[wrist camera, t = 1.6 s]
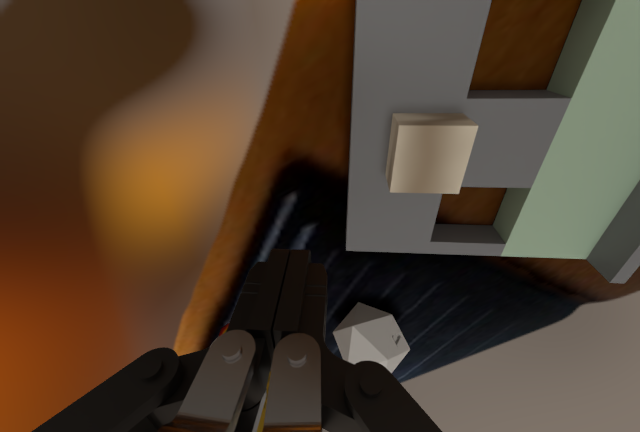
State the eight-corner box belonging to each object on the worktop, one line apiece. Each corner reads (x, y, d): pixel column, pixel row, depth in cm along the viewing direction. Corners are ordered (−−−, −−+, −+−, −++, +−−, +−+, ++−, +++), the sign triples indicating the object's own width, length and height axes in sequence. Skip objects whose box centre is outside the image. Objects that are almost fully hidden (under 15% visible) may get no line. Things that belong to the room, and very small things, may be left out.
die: (393, 332, 42) (434, 367, 33) (344, 366, 40) (372, 413, 31) (369, 285, 41) (403, 307, 32) (317, 318, 39) (337, 351, 30)
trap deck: (756, -45, 17) (920, -71, 12) (578, 239, 30) (624, 283, 25) (356, -31, 19) (360, -49, 14) (345, 232, 31) (345, 272, 26)
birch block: (462, 113, 21) (478, 125, 18) (446, 175, 24) (458, 193, 21) (392, 113, 21) (399, 125, 19) (385, 174, 24) (389, 192, 21)
